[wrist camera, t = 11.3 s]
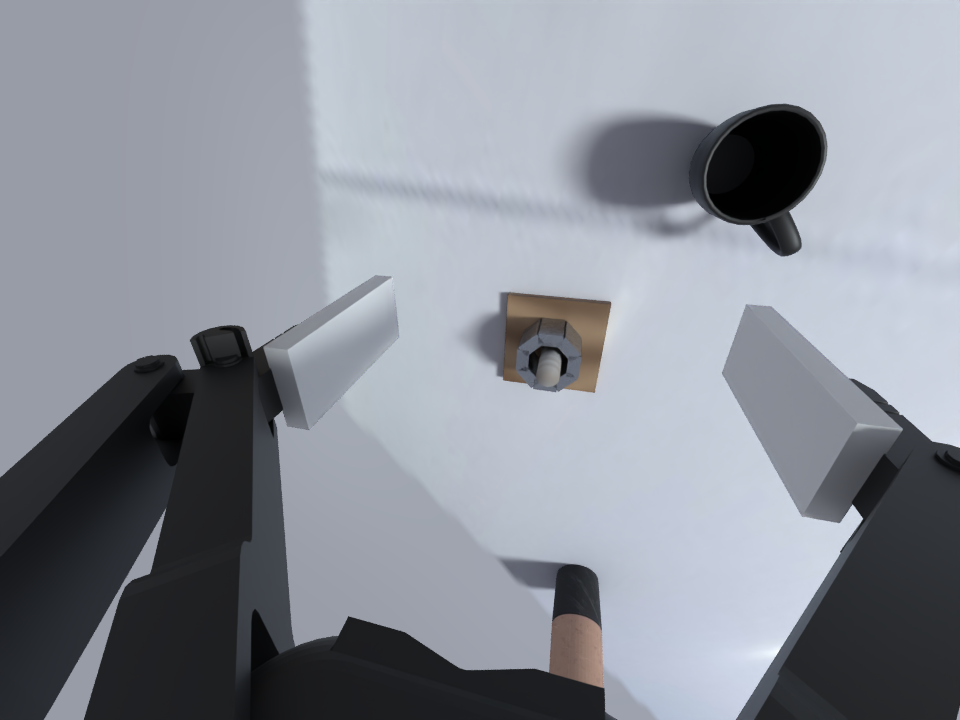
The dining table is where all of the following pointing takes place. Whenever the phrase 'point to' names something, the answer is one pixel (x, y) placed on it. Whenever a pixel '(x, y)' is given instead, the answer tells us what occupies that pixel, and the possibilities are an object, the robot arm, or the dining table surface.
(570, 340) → the ring
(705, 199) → the mug
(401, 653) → the robot arm
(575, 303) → the shaft stand
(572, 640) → the travel mug
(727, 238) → the dining table surface
